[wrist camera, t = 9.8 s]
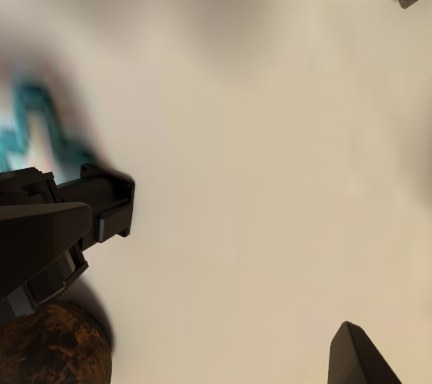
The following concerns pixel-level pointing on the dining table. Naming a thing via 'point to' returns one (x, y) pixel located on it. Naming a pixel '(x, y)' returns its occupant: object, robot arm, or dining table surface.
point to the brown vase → (54, 348)
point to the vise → (406, 3)
